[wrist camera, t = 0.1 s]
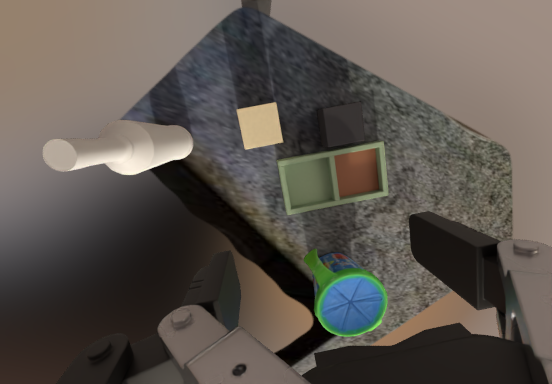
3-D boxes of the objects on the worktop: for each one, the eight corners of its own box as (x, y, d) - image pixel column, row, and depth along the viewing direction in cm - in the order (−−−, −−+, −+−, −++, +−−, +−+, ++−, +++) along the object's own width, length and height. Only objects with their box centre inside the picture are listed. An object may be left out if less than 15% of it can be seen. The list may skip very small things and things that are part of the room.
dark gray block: (316, 110, 41) (322, 108, 37) (351, 104, 41) (361, 101, 38) (321, 146, 43) (328, 147, 39) (355, 139, 43) (365, 140, 39)
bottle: (165, 161, 41) (33, 201, 17) (156, 128, 40) (1, 119, 16) (198, 156, 42) (113, 188, 17) (190, 122, 40) (88, 106, 16)
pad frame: (276, 160, 43) (277, 161, 40) (377, 140, 43) (383, 141, 41) (285, 211, 45) (287, 215, 42) (382, 192, 45) (388, 195, 43)
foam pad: (238, 111, 41) (236, 109, 37) (274, 105, 41) (276, 102, 37) (246, 147, 42) (244, 149, 38) (280, 141, 42) (282, 142, 38)
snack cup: (379, 283, 49) (410, 321, 39) (333, 315, 50) (352, 360, 40) (332, 220, 45) (352, 244, 36) (283, 256, 46) (290, 289, 36)
